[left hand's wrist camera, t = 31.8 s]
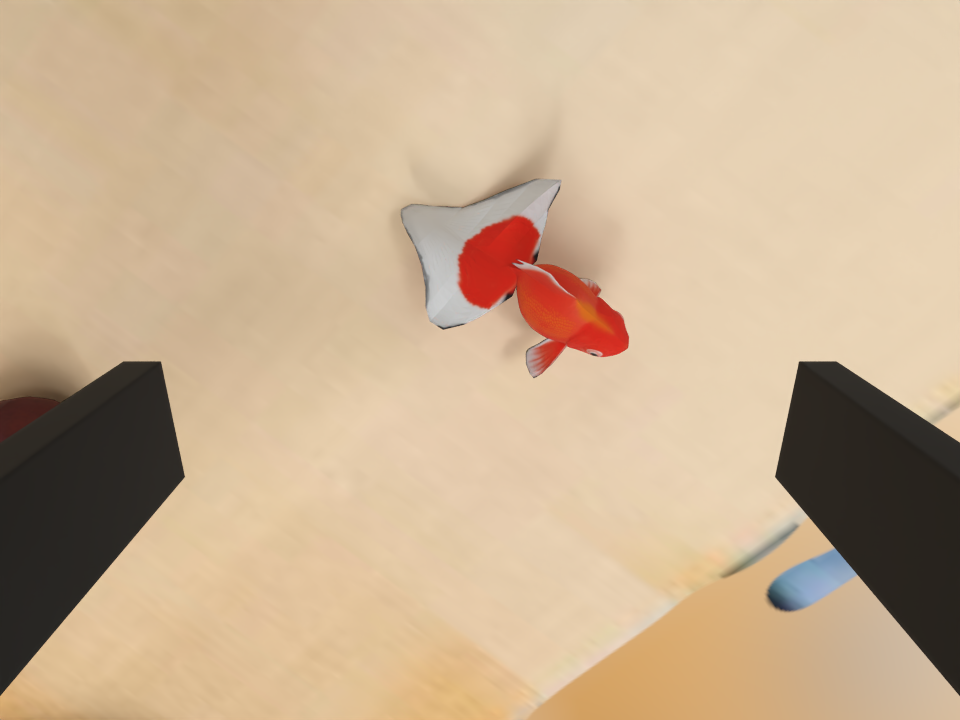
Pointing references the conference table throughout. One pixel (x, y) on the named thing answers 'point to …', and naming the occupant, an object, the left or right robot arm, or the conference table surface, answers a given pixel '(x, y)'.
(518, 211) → the fish
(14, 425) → the dark maroon ball
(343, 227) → the conference table surface
